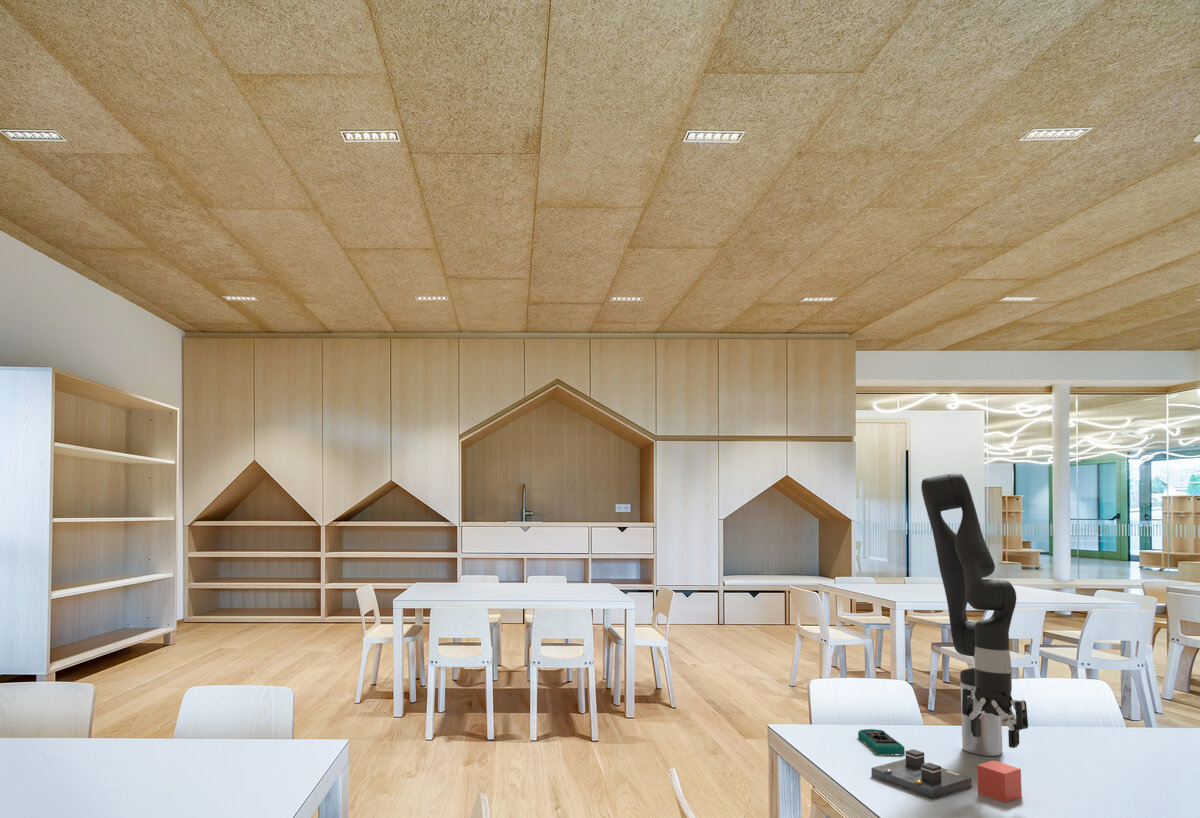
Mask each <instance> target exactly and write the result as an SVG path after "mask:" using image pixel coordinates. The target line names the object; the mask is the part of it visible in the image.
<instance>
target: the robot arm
mask: <svg viewBox="0 0 1200 818" xmlns="http://www.w3.org/2000/svg"><path fill="white" fill-rule="evenodd" d="M920 486H921V487H920V488H921V494H922V498H923V502H924V505H925V509H926V513H927V517H928V520H929V524H930V528H931V532H932V536H933V539H934V540H933V541H934V545H935V550H936V557H937V562H938V563H937V564H938V567H939V571H940V576H941V581H942V583H943V588H944V593H945V597H946V603H947V610H948V616H949V617H948V618H949V619H948V620H949V624H950V626H949V627H950V634H951V640H952V644H953V647H954V650H955V651H956V653H958V654H959V655H963V656H967V657H973V658H974V660H973V661H974V667H970V668H966V669H962V670H961V671H960V672H959V673H960V674H959V675H960V676H959V677H960V678H959V679H960V681H959V682H960V705H961V706H960V707H961V709H960V711H961V737H962V738H961V741H962V743H961V744H962V750H964V751H965V752H967V753H971V754H974V755H978V756H985V757H996V756H1000V755H1001V754H1002V752H1003V731H1002V726H1003V725H1002V721H1003V722H1005V724H1006V726H1007V727H1008V729H1007V730H1008V747H1009V748H1011V749H1016V748H1018V746H1019V745H1020V730H1021V731H1022V730H1024V729H1025V730H1026V729H1028V728H1029V718H1028V709H1027V706H1028V705H1027V701H1026V700H1024V699H1021V700H1017V699H1014V698H1013V696H1012V690H1013V687H1012V685H1013V684H1012V659H1011V653H1010V634H1009V633H1010V628H1011V624H1012V620H1013V619H1012V618H1013V614H1014V611H1015V608H1016V604H1017V593H1016V589H1015V588H1014V585H1013V584H1012V583H1011V582H1010V581H1008V580H1005V579H989V578H987V577H989V576H991V575H992V574H994V572H995V570H996V569H995V568H996V565H995V562H994V559H993V557H992V555H991V552H990V550H989V548H988V545H987V543H986V541H985V538H984V535H983V532H982V529H981V528H982V527H981V525H980V520H979V517H978V516H979V515H978V514H977V510H976V506H975V503H974V498H973V496H972V493H971V490H970V487H969V484H968V482H967V479H966V478H965V476H964V475H963V474H962V473H960V472H951V473H945V474H941V475H940V474H939V475H934V476H929V477H926V478H923V479H922V481H921V485H920ZM960 508H961V511H962V512H961V514H962V515H961V520H960V523H959V527H958V530H957V533H955V532H954V531H953V530H952V528H951V527H950V526H949V525H948V523H947V522H946V521H945V520H944V518H943V516H942V512H944V511H949V510H955V509H960ZM986 578H987V579H986ZM968 605H969V606H970V607H971V608H972V609H975V610H978V611H993V613H992V615H991V617H989V618H987V619H982V620H978V621H972V620H969V619H968V616H967V606H968ZM1012 706H1013V708H1012ZM1012 709H1014V711H1015V713H1014V712H1013V710H1012Z"/></svg>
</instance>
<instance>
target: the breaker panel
mask: <svg viewBox="0 0 1200 818" xmlns="http://www.w3.org/2000/svg"><path fill="white" fill-rule="evenodd" d="M926 763H927V762H925V761H924V764H926ZM871 778H875V779H877V780H879V781H882V782H885V783H888V784H890V785H892V786H895V787H898V788H901V789H903V790H906V791H909V792H912V793H914V794H917V795H920V796H922V797H925V798H928V799H931V800H935V799H938V798H941V797H944V796H948V795H950V794H954V793H958V792H960V791H963V790H967V789H970V788H972V787H973V779H972V778H973V777H970V776H968V775H964V774H962V773H958V772H955V771H954V770H953V771H952V770H950V769H947V768H944V767H941V780H940V781H937V782H934V783H933V782H930V781H928V780H925V779H922V775H921V767H918V768H916V767H913V766H910V765H907V764H906V758H904V759H900V760H897V761H893V762H889V763H885V764H884V763H883V764H880V765H877V766H872V767H871Z"/></svg>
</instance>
